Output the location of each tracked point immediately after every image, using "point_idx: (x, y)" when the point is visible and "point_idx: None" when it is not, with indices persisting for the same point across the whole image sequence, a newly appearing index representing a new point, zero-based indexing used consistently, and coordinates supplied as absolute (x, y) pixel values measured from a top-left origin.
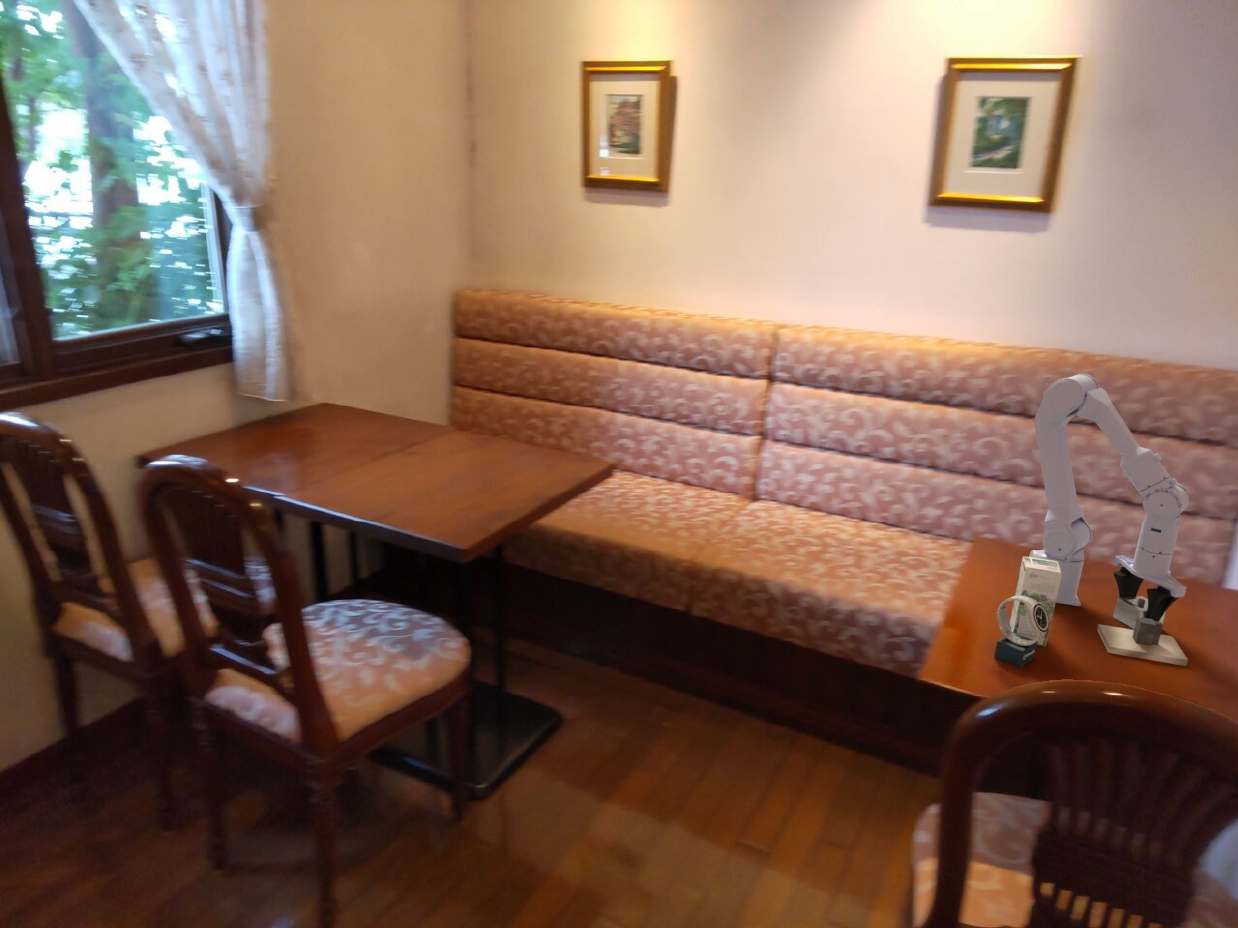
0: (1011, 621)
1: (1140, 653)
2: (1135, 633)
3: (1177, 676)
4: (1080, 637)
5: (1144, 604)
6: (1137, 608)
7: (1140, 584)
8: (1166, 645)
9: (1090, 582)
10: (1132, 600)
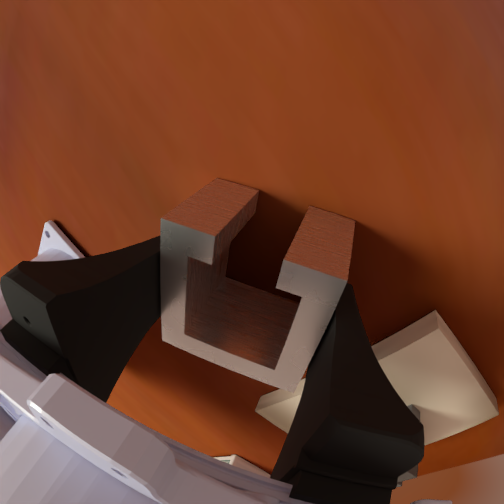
0: None
1: None
2: None
3: (480, 438)
4: (273, 437)
5: (222, 250)
6: (269, 380)
7: (108, 283)
8: (440, 397)
9: (15, 102)
10: (188, 301)
